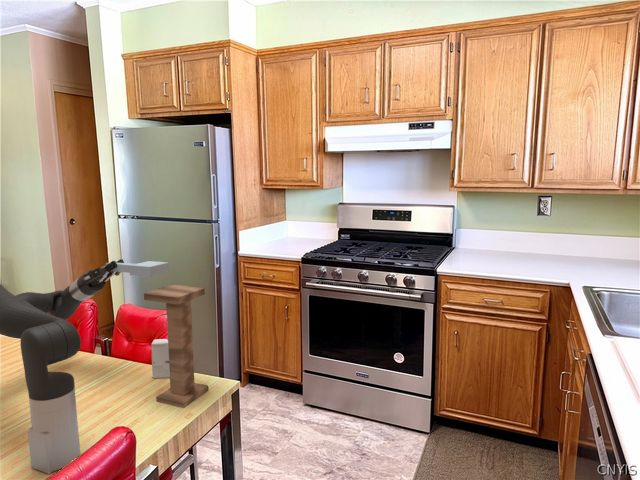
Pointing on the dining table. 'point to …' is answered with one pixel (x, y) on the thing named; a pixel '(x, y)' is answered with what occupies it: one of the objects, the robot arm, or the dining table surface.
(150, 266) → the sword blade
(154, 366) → the skincare box
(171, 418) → the dining table surface
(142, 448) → the dining table surface
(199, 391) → the brown wooden stand
